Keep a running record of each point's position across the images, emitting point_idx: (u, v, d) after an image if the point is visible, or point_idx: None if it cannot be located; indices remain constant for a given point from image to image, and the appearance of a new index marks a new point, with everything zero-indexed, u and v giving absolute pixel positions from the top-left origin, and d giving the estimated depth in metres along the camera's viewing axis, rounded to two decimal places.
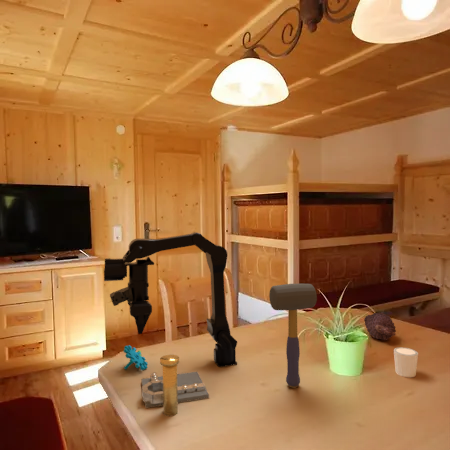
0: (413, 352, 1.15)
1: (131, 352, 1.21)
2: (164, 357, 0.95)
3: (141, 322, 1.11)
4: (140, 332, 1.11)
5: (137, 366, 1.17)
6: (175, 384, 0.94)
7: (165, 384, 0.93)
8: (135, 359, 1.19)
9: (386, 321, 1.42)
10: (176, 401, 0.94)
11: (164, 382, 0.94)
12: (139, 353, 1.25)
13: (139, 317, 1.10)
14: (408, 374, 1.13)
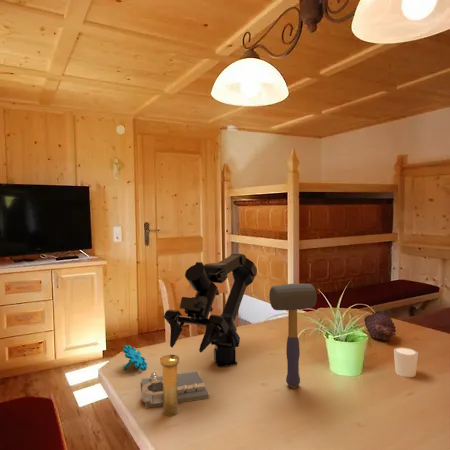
0: (413, 352, 1.15)
1: (131, 352, 1.21)
2: (164, 357, 0.95)
3: (208, 339, 1.02)
4: (201, 350, 1.00)
5: (136, 366, 1.17)
6: (175, 384, 0.94)
7: (165, 384, 0.93)
8: (134, 359, 1.19)
9: (386, 321, 1.42)
10: (176, 401, 0.94)
11: (164, 382, 0.94)
12: (139, 353, 1.25)
13: (209, 333, 1.03)
14: (408, 374, 1.13)
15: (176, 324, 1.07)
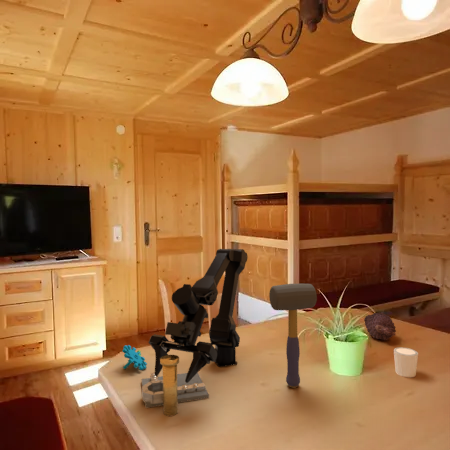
0: (413, 352, 1.15)
1: (130, 352, 1.21)
2: (164, 357, 0.95)
3: (195, 369, 0.95)
4: (188, 380, 0.93)
5: (135, 366, 1.17)
6: (175, 384, 0.94)
7: (165, 384, 0.93)
8: (134, 359, 1.19)
9: (386, 321, 1.42)
10: (176, 401, 0.94)
11: (164, 382, 0.94)
12: (139, 353, 1.25)
13: None
14: (408, 374, 1.13)
15: (162, 351, 1.00)
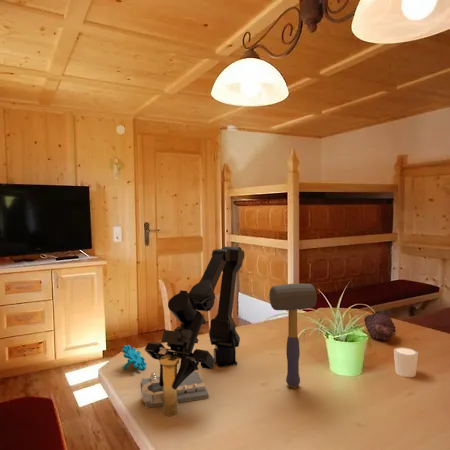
0: (413, 352, 1.15)
1: (130, 352, 1.21)
2: (164, 357, 0.95)
3: (183, 375, 0.95)
4: (175, 387, 0.93)
5: (135, 366, 1.17)
6: None
7: (165, 384, 0.93)
8: (133, 359, 1.19)
9: (386, 321, 1.42)
10: (176, 401, 0.94)
11: (164, 382, 0.94)
12: (138, 353, 1.25)
13: (184, 368, 0.95)
14: (408, 374, 1.13)
15: None
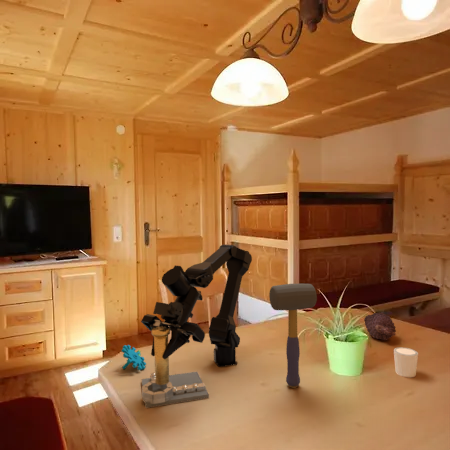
0: (413, 352, 1.15)
1: (129, 352, 1.21)
2: (156, 328, 0.99)
3: (174, 346, 0.98)
4: (165, 357, 0.96)
5: (134, 366, 1.17)
6: None
7: (156, 354, 0.97)
8: (133, 359, 1.19)
9: (386, 321, 1.42)
10: (167, 371, 0.98)
11: (155, 352, 0.97)
12: (138, 353, 1.25)
13: (175, 340, 0.98)
14: (408, 374, 1.13)
15: None
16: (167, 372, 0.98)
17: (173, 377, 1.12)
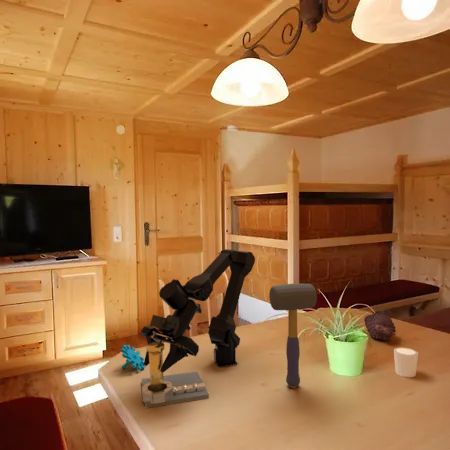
0: (413, 352, 1.15)
1: (129, 352, 1.21)
2: (151, 344, 1.02)
3: (172, 360, 0.99)
4: (163, 370, 0.98)
5: (133, 366, 1.17)
6: None
7: (150, 369, 1.00)
8: (132, 359, 1.19)
9: (386, 321, 1.42)
10: (161, 386, 1.00)
11: (150, 367, 1.00)
12: (138, 353, 1.25)
13: (174, 353, 1.00)
14: (408, 374, 1.13)
15: (153, 342, 1.05)
16: (162, 387, 1.00)
17: (173, 377, 1.12)
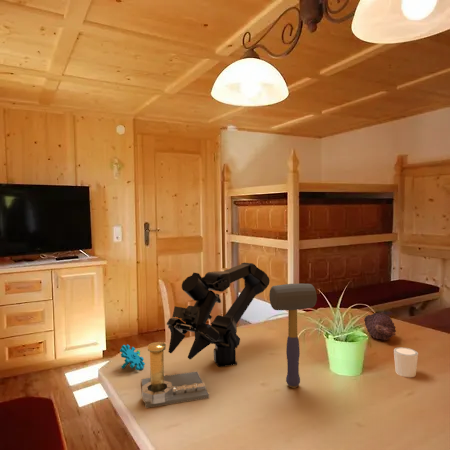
0: (413, 352, 1.15)
1: (128, 352, 1.21)
2: (153, 343, 1.02)
3: (198, 347, 1.06)
4: (190, 357, 1.05)
5: (132, 366, 1.17)
6: (160, 370, 1.00)
7: (151, 368, 1.00)
8: (131, 359, 1.19)
9: (386, 321, 1.42)
10: (161, 386, 1.00)
11: (150, 367, 1.00)
12: (137, 353, 1.25)
13: (199, 341, 1.07)
14: (408, 374, 1.13)
15: (176, 331, 1.14)
16: (162, 387, 1.01)
17: (173, 377, 1.12)
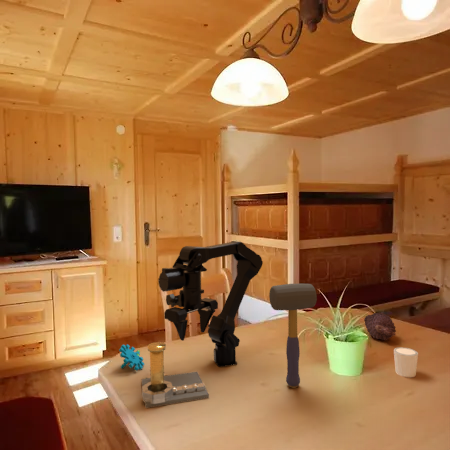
0: (413, 352, 1.15)
1: (127, 351, 1.21)
2: (153, 343, 1.02)
3: (180, 329, 1.12)
4: (181, 339, 1.13)
5: (130, 366, 1.17)
6: (160, 370, 1.00)
7: (151, 368, 1.00)
8: (130, 359, 1.19)
9: (386, 321, 1.42)
10: (161, 386, 1.00)
11: (150, 367, 1.00)
12: (137, 353, 1.25)
13: (178, 323, 1.12)
14: (408, 374, 1.13)
15: (200, 312, 1.21)
16: (162, 387, 1.01)
17: (173, 377, 1.12)
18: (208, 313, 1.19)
